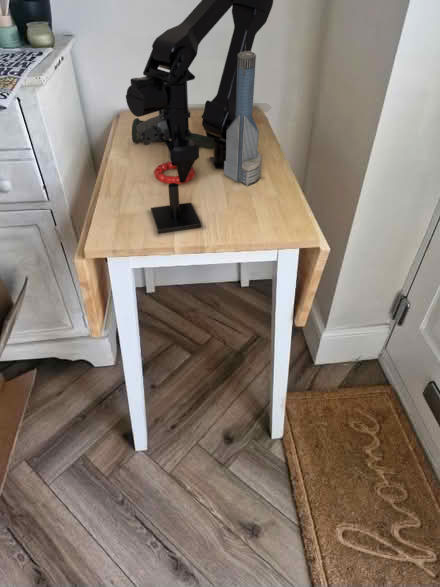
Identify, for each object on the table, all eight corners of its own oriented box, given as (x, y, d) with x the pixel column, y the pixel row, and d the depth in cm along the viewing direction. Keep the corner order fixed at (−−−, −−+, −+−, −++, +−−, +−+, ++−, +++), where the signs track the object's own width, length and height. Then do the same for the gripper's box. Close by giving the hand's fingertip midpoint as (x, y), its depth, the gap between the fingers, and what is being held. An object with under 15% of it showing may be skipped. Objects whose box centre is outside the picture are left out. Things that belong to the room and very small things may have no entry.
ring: (151, 169, 108) (151, 162, 107) (190, 165, 111) (189, 158, 109) (158, 187, 101) (157, 180, 100) (199, 182, 103) (199, 175, 102)
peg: (151, 211, 93) (147, 177, 88) (191, 206, 95) (190, 172, 90) (158, 234, 87) (154, 198, 81) (201, 227, 88) (200, 192, 83)
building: (258, 187, 102) (269, 45, 82) (220, 184, 103) (223, 42, 83) (262, 168, 110) (273, 34, 90) (227, 165, 111) (230, 32, 91)
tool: (130, 147, 119) (126, 122, 114) (137, 137, 123) (134, 114, 119) (227, 155, 116) (228, 131, 111) (231, 146, 120) (232, 122, 116)
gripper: (130, 94, 96) (138, 160, 106) (143, 123, 83) (150, 196, 93) (179, 91, 98) (182, 156, 109) (199, 119, 85) (200, 190, 95)
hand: (178, 173), depth 101 cm, fingers open, 9 cm apart
